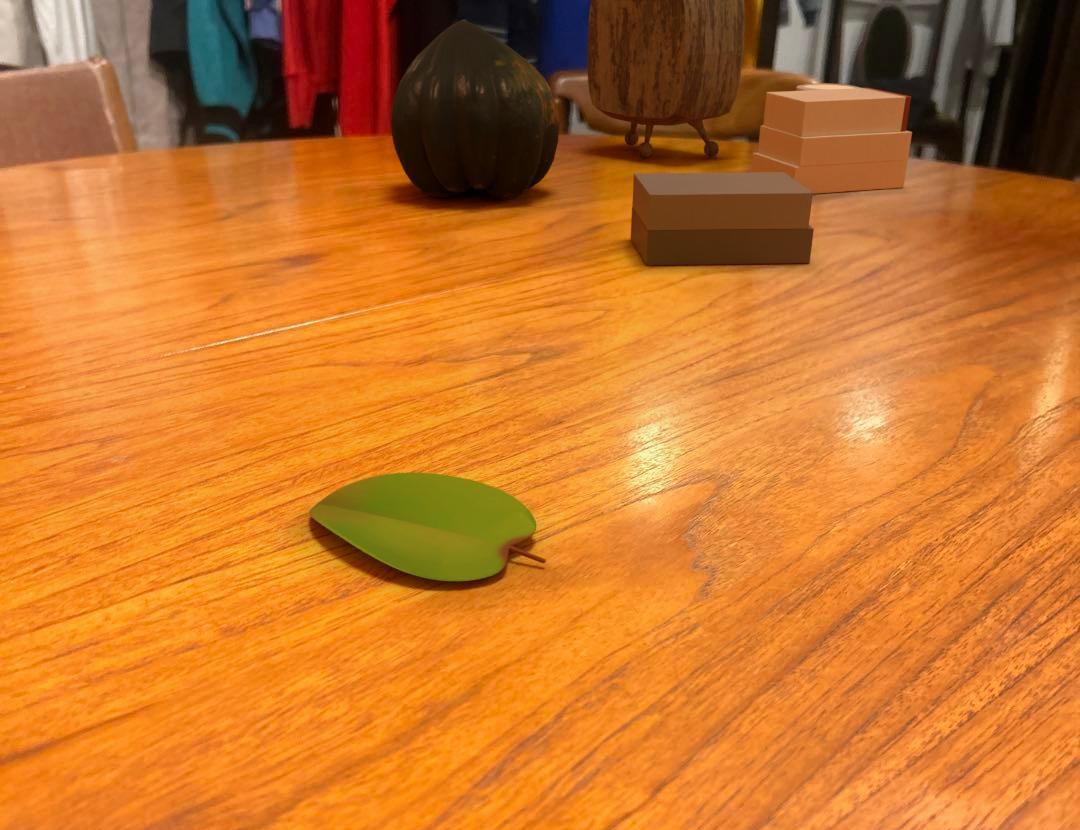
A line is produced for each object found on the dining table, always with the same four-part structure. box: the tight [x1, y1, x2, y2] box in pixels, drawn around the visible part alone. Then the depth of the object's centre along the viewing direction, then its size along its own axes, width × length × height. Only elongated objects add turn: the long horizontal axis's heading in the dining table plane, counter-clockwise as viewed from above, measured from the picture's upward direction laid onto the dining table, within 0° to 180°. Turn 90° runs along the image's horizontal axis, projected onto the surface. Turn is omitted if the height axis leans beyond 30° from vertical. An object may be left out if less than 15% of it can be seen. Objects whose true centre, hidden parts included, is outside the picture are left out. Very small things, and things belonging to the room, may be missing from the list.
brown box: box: [630, 171, 815, 267], centre depth 81 cm, size 12×8×5 cm, turn 94°
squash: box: [390, 19, 560, 201], centre depth 98 cm, size 14×15×15 cm
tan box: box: [762, 87, 912, 137], centre depth 102 cm, size 11×7×3 cm, turn 109°
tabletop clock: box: [586, 0, 746, 159], centre depth 112 cm, size 14×9×25 cm, turn 49°
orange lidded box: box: [750, 124, 913, 195], centre depth 104 cm, size 12×8×5 cm, turn 109°
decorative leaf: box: [308, 472, 547, 582], centre depth 43 cm, size 8×9×1 cm
